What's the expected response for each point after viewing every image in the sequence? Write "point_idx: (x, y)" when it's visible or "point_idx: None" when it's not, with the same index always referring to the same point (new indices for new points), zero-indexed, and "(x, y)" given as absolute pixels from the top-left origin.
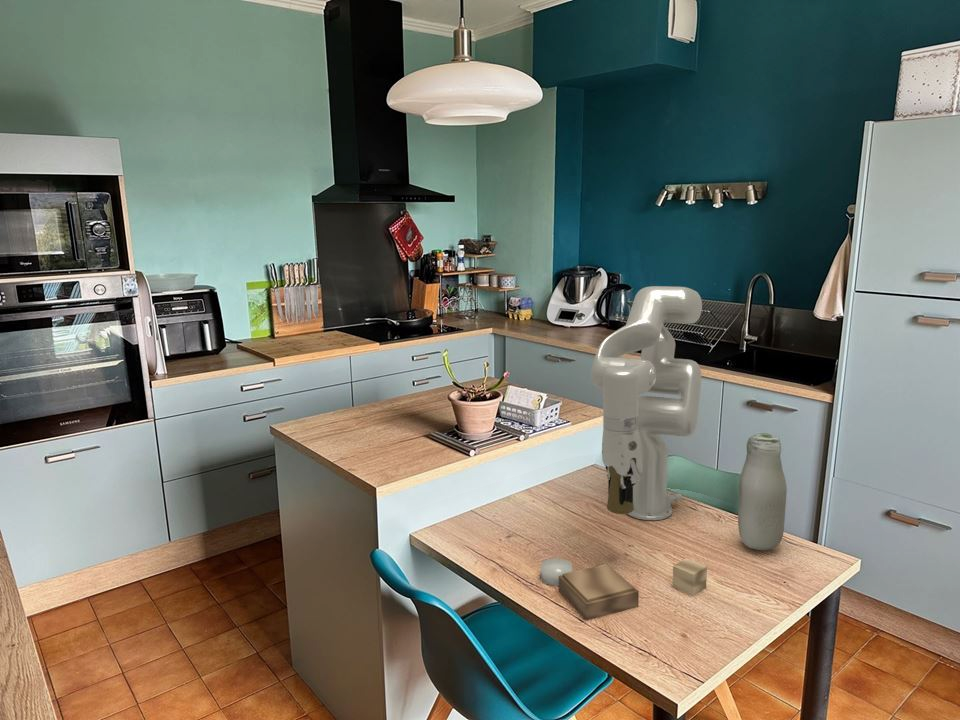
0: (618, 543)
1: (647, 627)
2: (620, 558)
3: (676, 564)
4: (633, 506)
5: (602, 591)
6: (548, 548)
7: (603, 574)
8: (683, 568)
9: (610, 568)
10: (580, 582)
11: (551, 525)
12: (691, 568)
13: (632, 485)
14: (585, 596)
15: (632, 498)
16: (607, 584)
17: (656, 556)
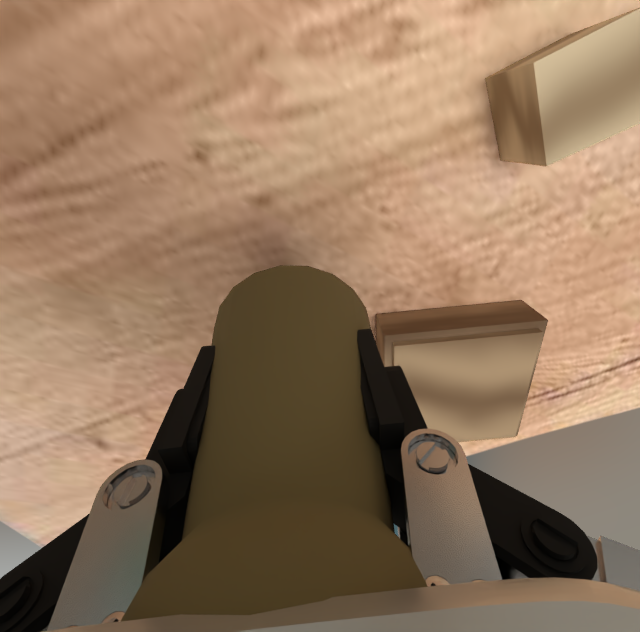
0: (178, 189)
1: (595, 317)
2: (282, 232)
3: (547, 145)
4: (338, 287)
5: (507, 402)
6: (179, 386)
7: (440, 373)
8: (586, 134)
9: (422, 347)
10: (446, 429)
11: (27, 340)
12: (608, 99)
13: (492, 488)
14: (502, 436)
15: (374, 343)
16: (488, 383)
17: (305, 96)
